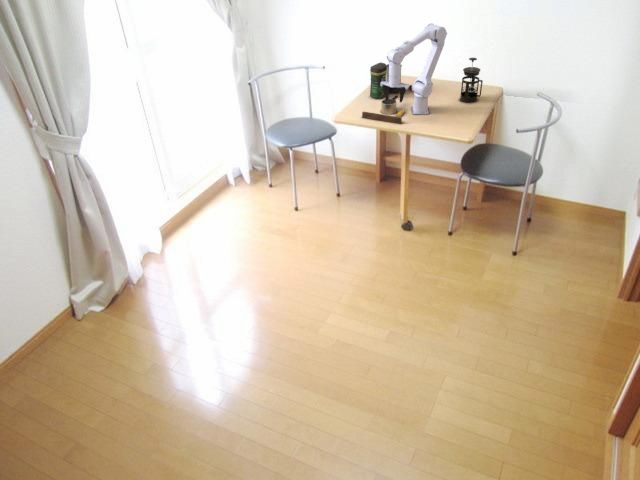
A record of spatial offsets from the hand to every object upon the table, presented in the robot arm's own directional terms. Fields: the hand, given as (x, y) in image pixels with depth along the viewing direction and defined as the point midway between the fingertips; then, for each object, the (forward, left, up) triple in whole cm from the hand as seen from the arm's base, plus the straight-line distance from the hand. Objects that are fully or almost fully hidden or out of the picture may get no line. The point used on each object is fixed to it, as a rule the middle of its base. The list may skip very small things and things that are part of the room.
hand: (394, 100), depth 266 cm
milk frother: (-40, +6, -11) cm, 42 cm away
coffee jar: (-33, -7, -11) cm, 36 cm away
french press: (-22, +43, -11) cm, 49 cm away
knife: (-3, +3, -10) cm, 11 cm away
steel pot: (-14, -1, -10) cm, 18 cm away
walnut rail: (0, -6, -10) cm, 12 cm away
